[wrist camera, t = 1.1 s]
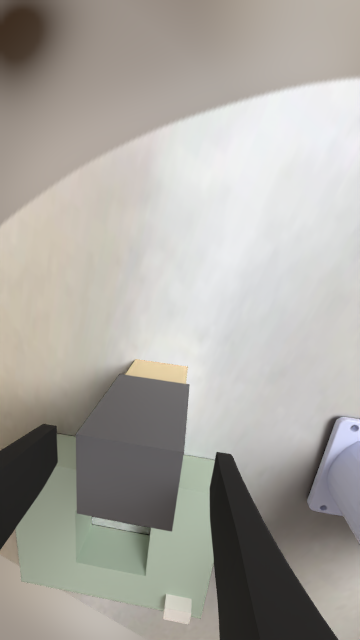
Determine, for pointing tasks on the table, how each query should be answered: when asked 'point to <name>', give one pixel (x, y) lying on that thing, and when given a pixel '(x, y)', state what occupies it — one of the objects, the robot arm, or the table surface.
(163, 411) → the plug
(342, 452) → the robot arm
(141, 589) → the socket panel
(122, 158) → the table surface
